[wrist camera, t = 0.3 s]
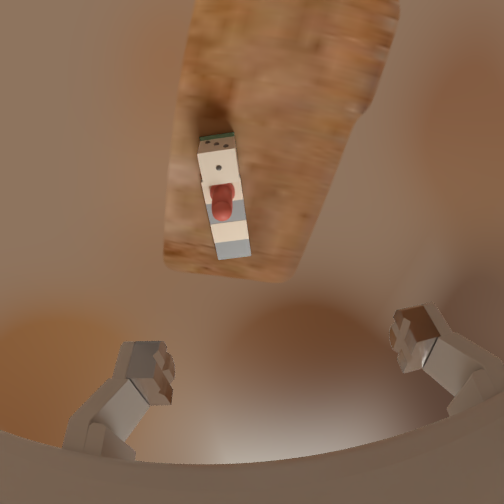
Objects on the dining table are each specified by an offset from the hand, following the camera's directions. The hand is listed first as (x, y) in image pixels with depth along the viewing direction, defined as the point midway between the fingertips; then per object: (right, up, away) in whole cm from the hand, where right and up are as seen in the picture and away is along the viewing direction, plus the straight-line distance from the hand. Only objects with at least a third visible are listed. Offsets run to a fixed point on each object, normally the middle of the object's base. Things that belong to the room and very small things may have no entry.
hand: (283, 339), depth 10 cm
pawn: (-6, +12, +37) cm, 40 cm away
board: (-5, +9, +42) cm, 43 cm away
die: (-6, +17, +34) cm, 38 cm away
